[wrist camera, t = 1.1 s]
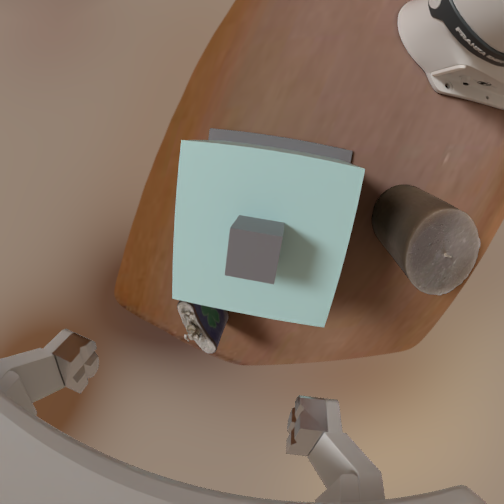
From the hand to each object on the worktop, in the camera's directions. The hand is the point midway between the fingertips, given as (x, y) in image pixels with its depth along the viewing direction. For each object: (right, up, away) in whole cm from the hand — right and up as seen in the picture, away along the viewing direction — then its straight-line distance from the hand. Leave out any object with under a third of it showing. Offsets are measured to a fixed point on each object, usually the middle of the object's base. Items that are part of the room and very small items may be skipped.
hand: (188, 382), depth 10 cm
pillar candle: (+24, +10, +28) cm, 38 cm away
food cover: (+5, +11, +29) cm, 32 cm away
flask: (-4, -2, +36) cm, 37 cm away
